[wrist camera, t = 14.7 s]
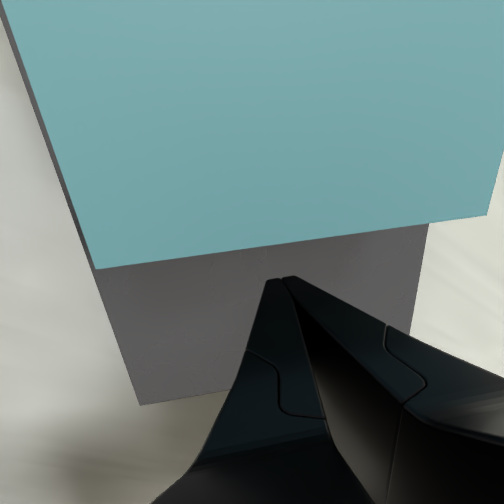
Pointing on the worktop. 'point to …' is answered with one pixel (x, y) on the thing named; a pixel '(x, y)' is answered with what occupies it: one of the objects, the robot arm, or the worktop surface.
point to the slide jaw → (264, 117)
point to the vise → (235, 294)
